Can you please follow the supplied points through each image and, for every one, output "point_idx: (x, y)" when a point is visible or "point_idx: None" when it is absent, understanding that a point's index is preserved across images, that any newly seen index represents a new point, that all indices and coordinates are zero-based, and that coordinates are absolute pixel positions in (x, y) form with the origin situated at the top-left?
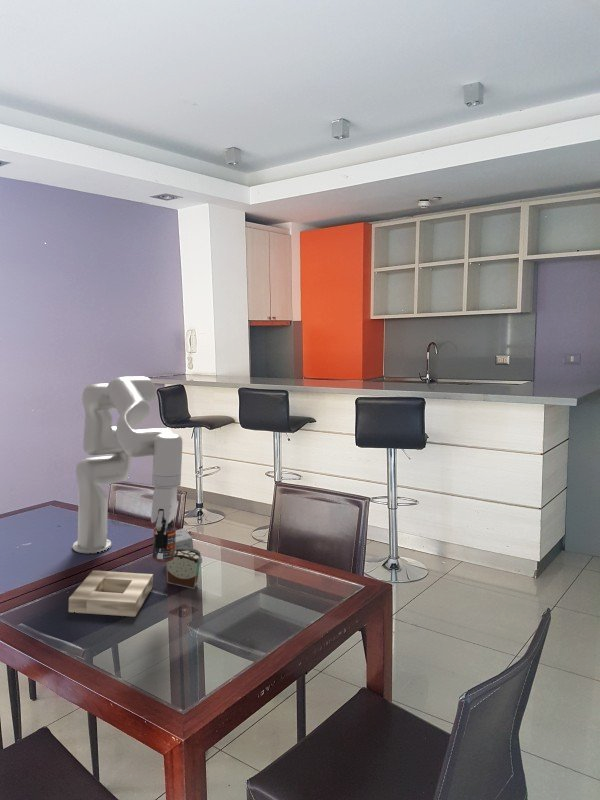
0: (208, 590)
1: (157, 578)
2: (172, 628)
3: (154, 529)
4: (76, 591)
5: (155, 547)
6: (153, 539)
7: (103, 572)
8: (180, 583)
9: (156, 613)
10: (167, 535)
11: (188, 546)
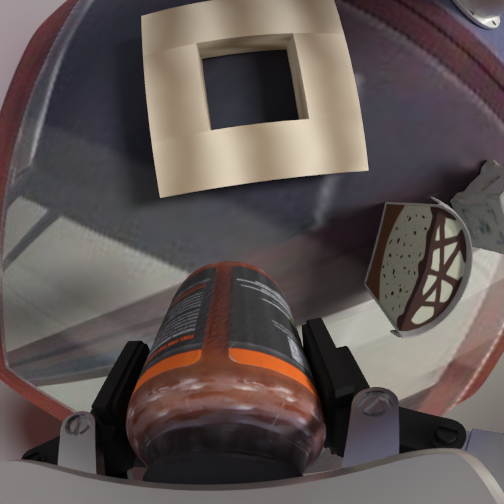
0: (360, 318)
1: (402, 166)
2: (151, 304)
3: (153, 390)
4: (183, 9)
5: (129, 342)
6: (174, 326)
7: (331, 22)
8: (379, 243)
9: (204, 240)
10: (135, 460)
11: (498, 242)
